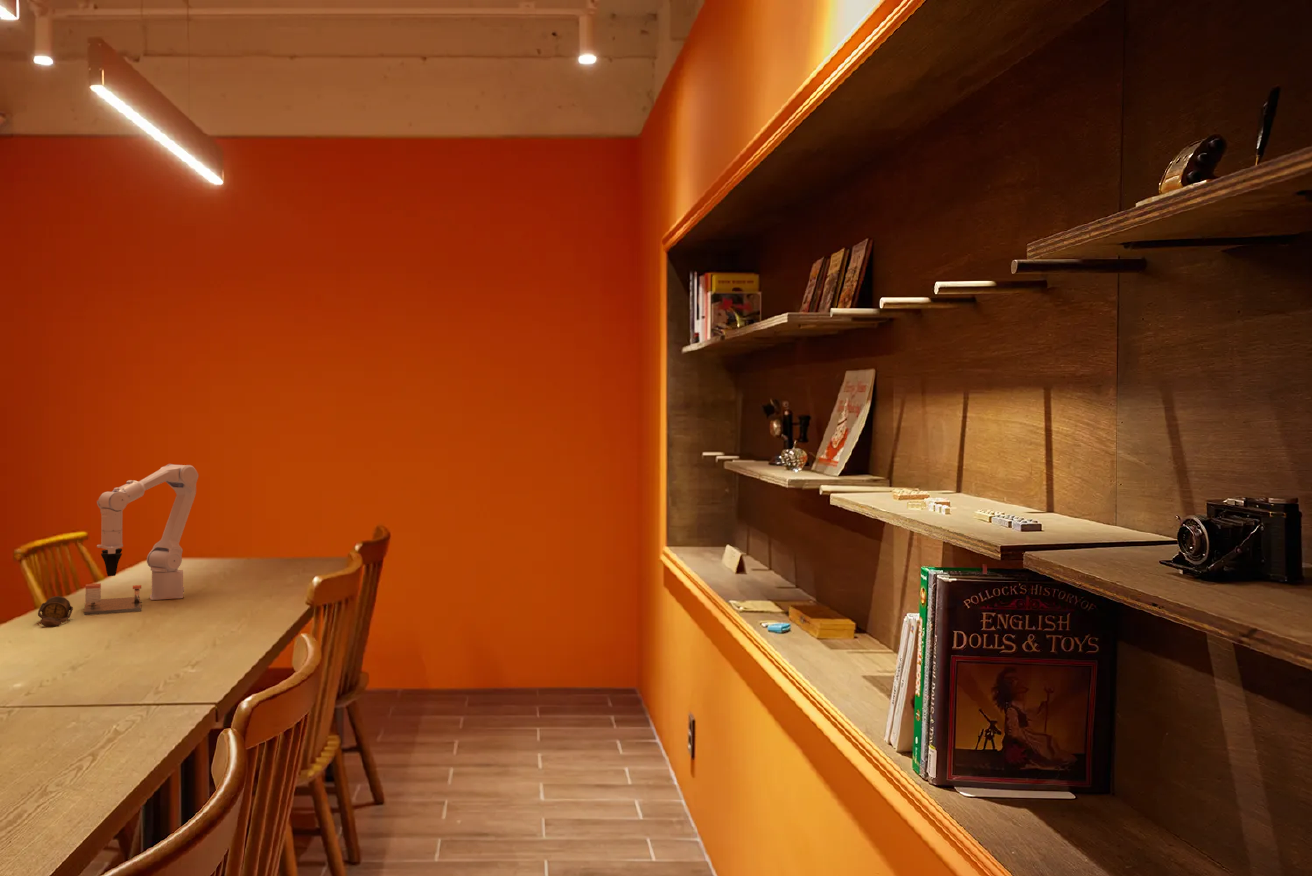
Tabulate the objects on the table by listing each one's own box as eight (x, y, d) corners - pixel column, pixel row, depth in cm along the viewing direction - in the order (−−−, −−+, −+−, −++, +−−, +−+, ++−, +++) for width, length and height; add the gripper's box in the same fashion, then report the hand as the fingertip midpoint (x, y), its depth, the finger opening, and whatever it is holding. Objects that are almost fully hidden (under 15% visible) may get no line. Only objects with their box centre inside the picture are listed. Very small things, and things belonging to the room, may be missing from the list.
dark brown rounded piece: (86, 600, 285) (53, 592, 285) (62, 604, 272) (27, 596, 272) (79, 624, 284) (45, 616, 284) (54, 629, 272) (19, 621, 271)
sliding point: (100, 602, 301) (100, 583, 301) (100, 604, 298) (100, 585, 297) (85, 603, 299) (85, 584, 299) (85, 605, 296) (85, 586, 296)
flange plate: (141, 599, 314) (141, 580, 313) (142, 611, 296) (142, 591, 296) (86, 603, 306) (86, 583, 306) (84, 615, 289) (84, 594, 289)
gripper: (97, 528, 305) (97, 571, 305) (96, 533, 292) (96, 578, 292) (123, 527, 308) (122, 570, 308) (123, 532, 295) (122, 577, 296)
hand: (111, 574), depth 301 cm, fingers open, 7 cm apart
